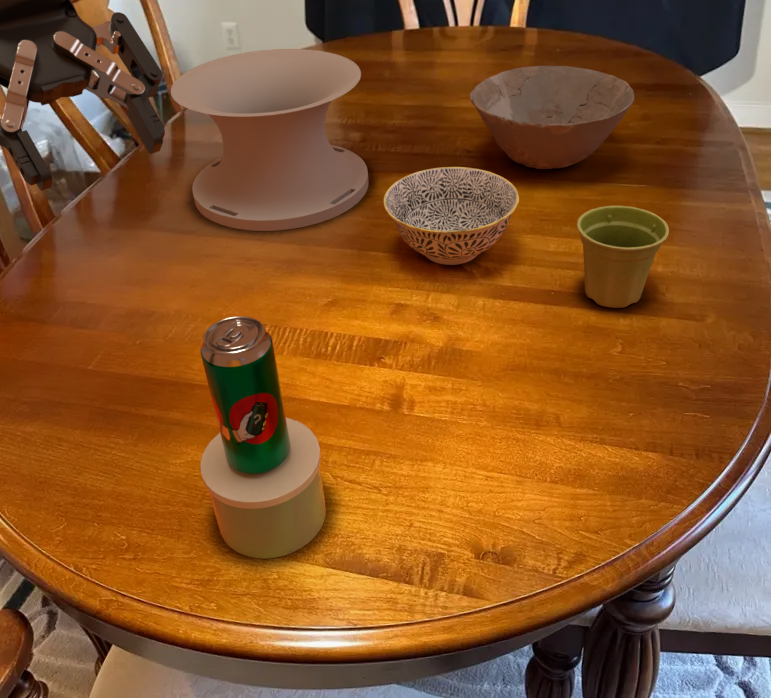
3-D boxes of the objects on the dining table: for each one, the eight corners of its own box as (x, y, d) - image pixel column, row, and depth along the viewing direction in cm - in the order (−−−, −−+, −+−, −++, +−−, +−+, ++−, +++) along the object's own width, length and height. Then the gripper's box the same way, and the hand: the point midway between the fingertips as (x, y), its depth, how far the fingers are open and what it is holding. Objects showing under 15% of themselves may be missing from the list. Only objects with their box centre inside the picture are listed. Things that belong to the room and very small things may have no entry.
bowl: (488, 298, 91) (489, 240, 86) (364, 270, 97) (359, 214, 92) (533, 232, 102) (537, 178, 97) (419, 210, 108) (418, 158, 103)
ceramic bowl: (647, 143, 121) (657, 77, 115) (588, 207, 106) (596, 136, 100) (514, 117, 131) (517, 56, 125) (443, 173, 116) (442, 106, 110)
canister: (222, 573, 63) (206, 514, 58) (210, 487, 70) (195, 430, 66) (339, 544, 64) (331, 484, 60) (316, 463, 72) (307, 405, 67)
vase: (165, 224, 108) (137, 112, 99) (232, 147, 127) (214, 47, 118) (342, 237, 103) (331, 120, 94) (385, 154, 122) (380, 50, 113)
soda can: (304, 445, 64) (284, 324, 56) (265, 487, 60) (239, 364, 53) (253, 425, 66) (229, 305, 58) (213, 465, 62) (182, 343, 55)
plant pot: (571, 268, 95) (578, 202, 89) (654, 274, 93) (666, 207, 87) (567, 313, 88) (575, 245, 82) (657, 321, 86) (671, 251, 80)
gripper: (-116, -45, 51) (7, 175, 51) (92, -82, 58) (201, 112, 58) (-103, 25, 58) (6, 220, 58) (83, -16, 65) (181, 158, 65)
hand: (104, 165), depth 58 cm, fingers open, 8 cm apart
